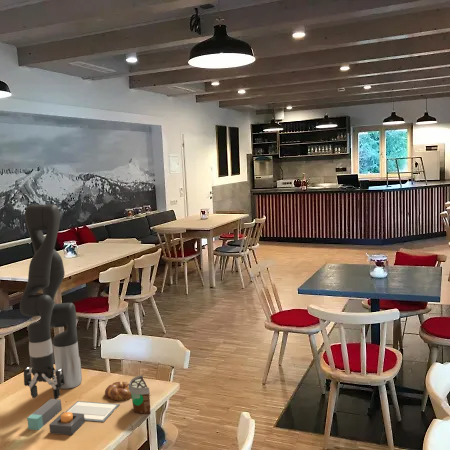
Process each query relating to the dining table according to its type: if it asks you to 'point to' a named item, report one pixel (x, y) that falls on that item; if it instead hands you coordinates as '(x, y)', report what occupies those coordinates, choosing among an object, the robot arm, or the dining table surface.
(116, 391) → the pretzel
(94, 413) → the drawing board
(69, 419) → the button
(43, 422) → the marker
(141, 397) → the food container
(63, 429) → the button housing
